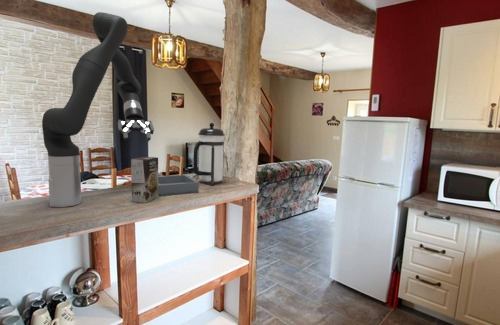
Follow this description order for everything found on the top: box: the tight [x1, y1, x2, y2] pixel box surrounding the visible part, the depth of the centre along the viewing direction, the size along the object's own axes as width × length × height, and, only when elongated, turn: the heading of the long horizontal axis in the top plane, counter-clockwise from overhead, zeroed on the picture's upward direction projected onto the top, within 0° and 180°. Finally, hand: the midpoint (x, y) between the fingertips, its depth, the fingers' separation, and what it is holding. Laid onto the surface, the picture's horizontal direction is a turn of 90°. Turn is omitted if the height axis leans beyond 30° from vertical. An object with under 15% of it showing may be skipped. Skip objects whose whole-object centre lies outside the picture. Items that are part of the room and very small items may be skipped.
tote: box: [158, 174, 199, 197], centre depth 129 cm, size 17×19×4 cm
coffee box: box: [130, 156, 159, 204], centre depth 111 cm, size 9×6×16 cm
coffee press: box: [192, 122, 226, 186], centre depth 143 cm, size 17×16×30 cm
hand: (138, 140), depth 123 cm, fingers open, 8 cm apart
